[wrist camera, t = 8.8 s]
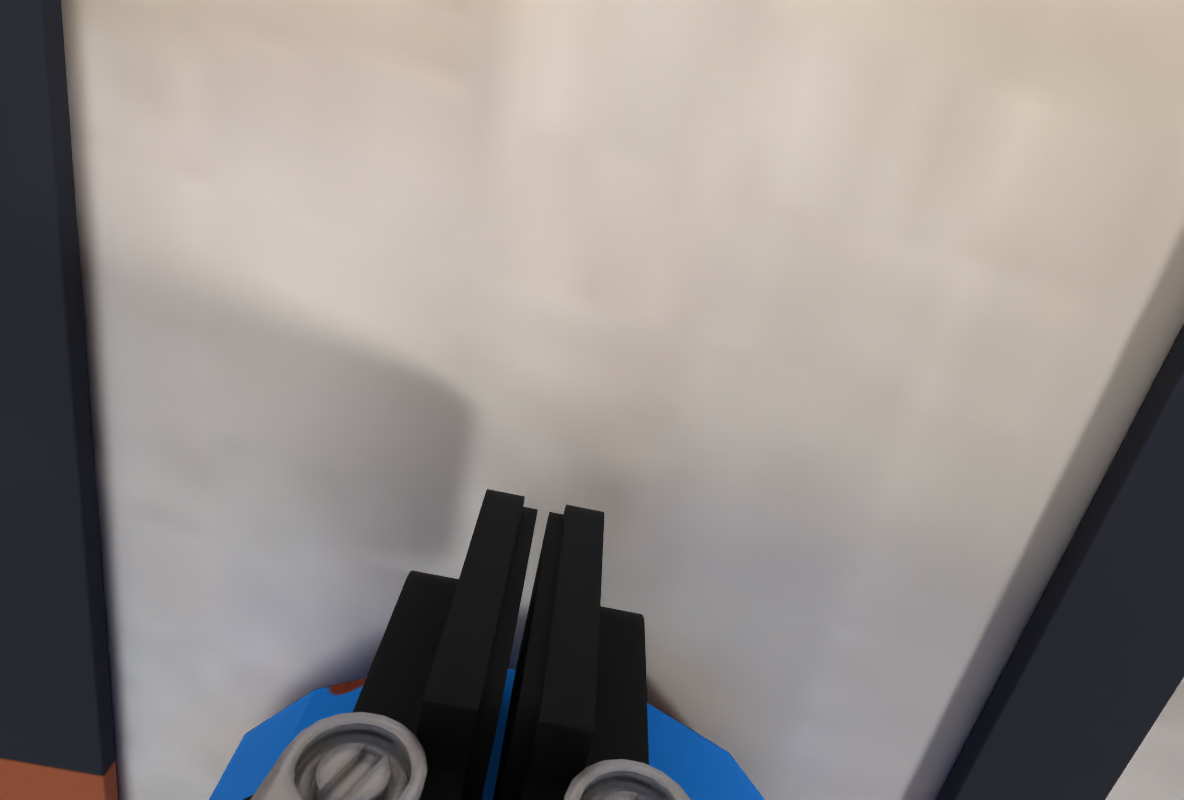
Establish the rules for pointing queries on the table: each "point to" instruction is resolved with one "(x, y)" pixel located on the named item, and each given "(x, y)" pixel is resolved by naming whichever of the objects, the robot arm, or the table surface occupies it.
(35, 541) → the lane
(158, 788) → the table surface
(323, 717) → the thermos
